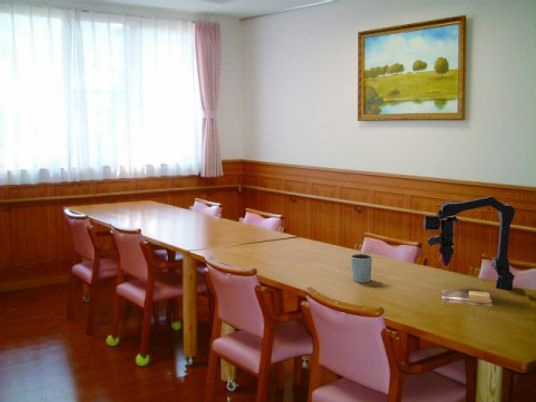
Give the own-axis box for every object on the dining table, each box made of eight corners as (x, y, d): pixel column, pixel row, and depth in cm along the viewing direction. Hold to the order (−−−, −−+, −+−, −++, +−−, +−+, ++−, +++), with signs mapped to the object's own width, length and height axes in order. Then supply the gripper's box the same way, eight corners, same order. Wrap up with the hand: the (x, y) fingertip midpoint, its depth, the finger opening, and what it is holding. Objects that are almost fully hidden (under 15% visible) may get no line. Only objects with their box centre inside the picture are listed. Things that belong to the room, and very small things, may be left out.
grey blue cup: (371, 283, 280) (371, 259, 278) (349, 282, 282) (350, 258, 280) (371, 278, 289) (372, 254, 288) (351, 277, 291) (351, 253, 290)
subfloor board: (489, 296, 258) (489, 293, 258) (492, 309, 241) (492, 306, 241) (442, 293, 264) (442, 289, 264) (441, 305, 247) (441, 301, 247)
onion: (449, 265, 272) (450, 249, 270) (454, 269, 266) (454, 251, 265) (437, 266, 271) (438, 249, 270) (441, 269, 266) (442, 251, 265)
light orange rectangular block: (488, 299, 250) (488, 292, 250) (488, 303, 245) (489, 296, 244) (468, 297, 253) (469, 290, 252) (468, 301, 247) (468, 294, 247)
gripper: (429, 226, 277) (428, 258, 280) (428, 233, 260) (426, 267, 262) (454, 227, 274) (452, 259, 276) (454, 234, 256) (453, 269, 259)
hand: (445, 264), depth 268 cm, fingers closed on onion, 6 cm apart
